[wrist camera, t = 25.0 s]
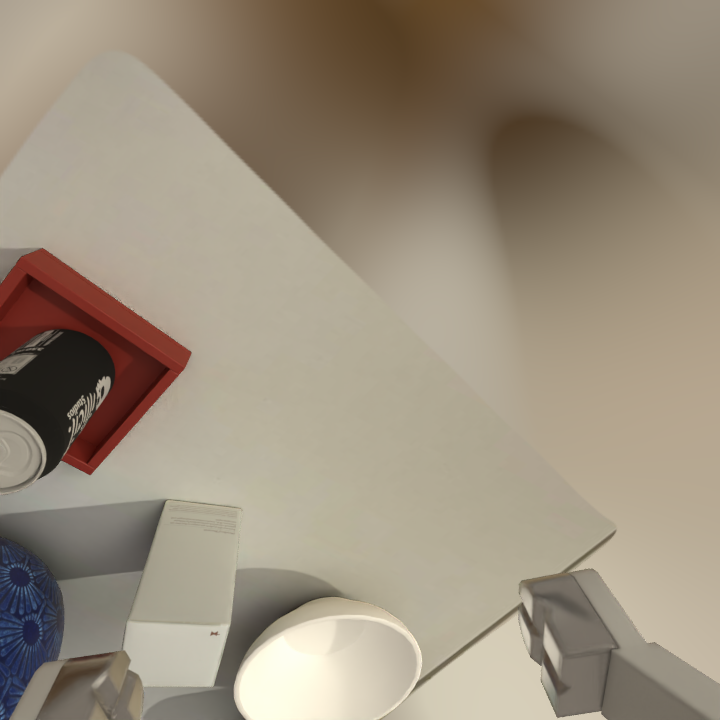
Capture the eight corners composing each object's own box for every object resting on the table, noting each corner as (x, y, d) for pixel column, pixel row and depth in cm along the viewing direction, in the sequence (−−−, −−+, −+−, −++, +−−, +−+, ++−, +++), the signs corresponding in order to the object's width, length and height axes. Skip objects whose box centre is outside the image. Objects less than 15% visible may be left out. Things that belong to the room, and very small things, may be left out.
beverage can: (112, 408, 38) (47, 509, 27) (22, 391, 36) (-86, 492, 25) (124, 337, 36) (58, 415, 25) (29, 315, 34) (-87, 389, 23)
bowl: (427, 632, 57) (446, 690, 51) (287, 696, 58) (289, 761, 52) (367, 531, 49) (381, 586, 43) (204, 607, 49) (194, 672, 43)
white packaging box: (165, 497, 43) (125, 619, 32) (244, 507, 45) (234, 626, 33) (153, 555, 45) (112, 689, 34) (229, 562, 47) (214, 691, 36)
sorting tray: (42, 247, 33) (21, 256, 30) (192, 352, 38) (185, 367, 35) (-50, 370, 35) (-77, 388, 32) (102, 453, 40) (90, 475, 37)
